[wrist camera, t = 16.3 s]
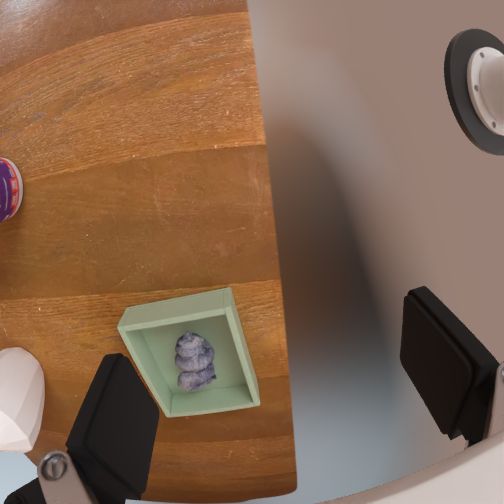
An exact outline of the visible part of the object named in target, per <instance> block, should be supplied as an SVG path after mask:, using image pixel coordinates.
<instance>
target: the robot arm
mask: <svg viewBox="0 0 504 504" xmlns="http://www.w3.org/2000/svg"><path fill="white" fill-rule="evenodd" d="M467 84H468V91H469V94H470V98H471V101H472V104H473V107H474V109H475V111H476V113H477V115H478V117H479V118H480V120H481V121H482V123H483V124H484V125H485V126H486V127H487V128H488V129H489V130H490V131H491V132H493V133H495V134H497V135H502V136H504V55H503V54H502V53H501V52H499V51H498V50H496V49H494V48H490V47H484V48H479V49H477V50H476V51H474V52H473V53H472V55H471V57H470V59H469V62H468V66H467ZM400 360H401V364H402V366H403V368H404V369H405V371H406V372H407V374H408V376H409V377H410V379H411V381H412V382H413V384H414V386H415V387H416V389H417V391H418V392H419V394H420V396H421V398H422V399H423V401H424V403H425V404H426V406H427V408H428V410H429V411H430V413H431V415H432V417H433V418H434V420H435V422H436V424H437V425H438V427H439V429H440V431H441V432H442V433H443V434H448V437H449V438H450V440H452V439H454V438H456V437H458V436H460V435H463V436H464V438H465V440H466V443H465V447H464V450H463V451H461V452H459V453H457V454H455V455H453V456H451V457H449V458H447V459H445V460H443V461H441V462H439V463H436V464H434V465H432V466H429V467H427V468H425V469H422V470H420V471H418V472H415V473H413V474H411V475H408V476H406V477H403V478H401V479H398V480H395V481H393V482H390V483H387V484H384V485H382V486H378V487H375V488H372V489H369V490H366V491H363V492H360V493H356V494H352V495H349V496H345V497H341V498H338V499H334V500H330V501H325V502H321V503H316V504H504V361H503V362H502V363H501V364H499V363H498V362H497V360H496V359H495V358H494V356H493V355H492V354H491V353H490V352H489V351H488V350H487V349H486V348H485V346H484V345H483V344H482V343H481V342H480V341H479V340H478V339H477V338H476V337H475V336H474V334H472V332H470V330H469V329H468V328H467V327H466V326H465V325H464V324H463V323H462V322H461V321H460V320H459V319H458V318H457V317H456V316H455V315H454V314H453V313H452V312H451V311H450V310H449V309H448V308H447V307H446V306H445V305H444V304H443V303H442V302H441V301H440V300H439V299H438V298H437V297H436V296H435V295H434V294H433V293H432V292H431V291H430V290H429V289H428V288H427V287H425V286H422V287H419V288H416V289H413V290H410V291H409V292H408V295H407V296H405V297H404V306H403V325H402V338H401V349H400ZM158 420H159V409H158V406H157V405H156V403H155V402H154V400H153V398H152V397H151V395H150V394H149V392H148V390H147V389H146V387H145V386H144V384H143V382H142V381H141V379H140V377H139V376H138V374H137V372H136V371H135V369H134V367H133V365H132V364H131V362H130V360H129V359H128V358H127V357H124V356H123V354H121V353H116V354H108V355H105V356H104V358H103V360H102V362H101V364H100V366H99V368H98V370H97V372H96V375H95V377H94V379H93V381H92V383H91V385H90V388H89V390H88V392H87V394H86V397H85V399H84V401H83V404H82V406H81V408H80V410H79V413H78V415H77V418H76V420H75V422H74V425H73V427H72V430H71V432H70V435H69V437H68V440H67V442H66V446H67V447H68V450H67V452H65V451H64V450H60V449H56V450H52V451H49V452H48V453H46V454H45V455H44V456H43V457H42V458H41V459H40V461H39V463H38V467H37V474H38V477H37V478H36V479H34V480H32V481H31V482H30V483H28V484H26V485H24V486H23V487H21V488H19V489H18V490H16V491H14V492H12V493H11V494H10V495H8V496H7V498H6V499H5V501H4V504H125V500H126V499H130V500H141V494H142V493H144V492H145V490H146V486H147V480H148V474H149V468H150V462H151V457H152V451H153V446H154V441H155V435H156V430H157V425H158Z"/></svg>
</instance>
